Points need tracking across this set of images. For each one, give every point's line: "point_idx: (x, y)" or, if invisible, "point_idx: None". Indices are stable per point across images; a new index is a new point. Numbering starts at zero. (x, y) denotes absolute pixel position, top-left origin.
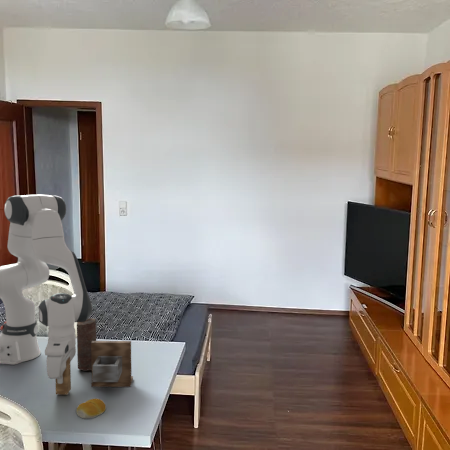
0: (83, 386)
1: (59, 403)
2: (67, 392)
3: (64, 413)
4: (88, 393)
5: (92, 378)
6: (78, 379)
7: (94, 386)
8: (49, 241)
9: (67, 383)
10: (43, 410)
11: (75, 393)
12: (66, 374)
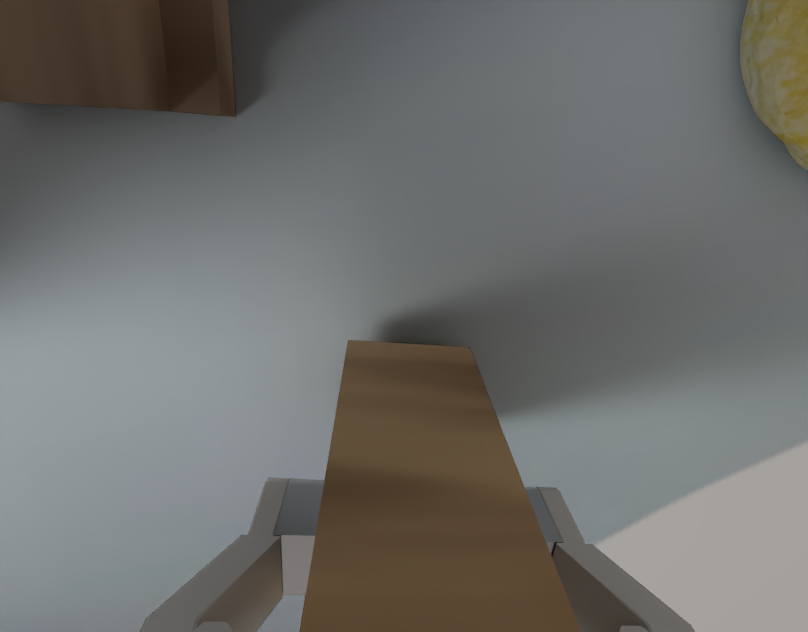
0: (235, 218)
1: (583, 376)
2: (472, 358)
3: (788, 298)
4: (415, 124)
5: (143, 99)
6: (68, 306)
7: (232, 69)
8: None
9: (490, 420)
10: (667, 461)
11: (402, 275)
12: (543, 547)
